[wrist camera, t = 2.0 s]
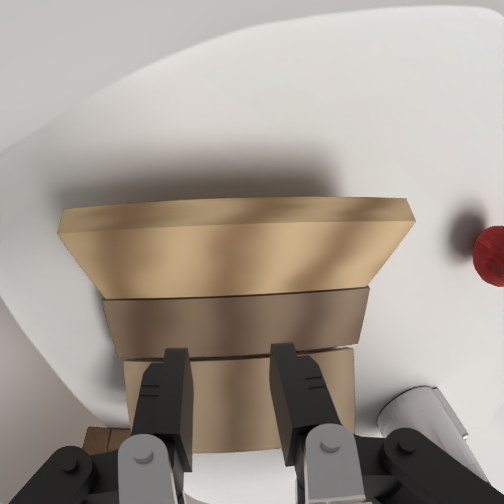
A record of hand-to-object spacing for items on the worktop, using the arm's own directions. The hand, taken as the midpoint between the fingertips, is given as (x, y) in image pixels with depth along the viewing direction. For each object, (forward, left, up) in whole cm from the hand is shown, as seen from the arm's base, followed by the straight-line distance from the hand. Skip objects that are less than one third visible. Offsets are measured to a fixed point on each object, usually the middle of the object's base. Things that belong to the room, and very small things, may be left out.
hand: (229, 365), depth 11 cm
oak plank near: (-1, 0, -12) cm, 12 cm away
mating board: (-1, +8, -15) cm, 17 cm away
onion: (-26, +2, -15) cm, 30 cm away
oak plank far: (-1, +16, -12) cm, 20 cm away
